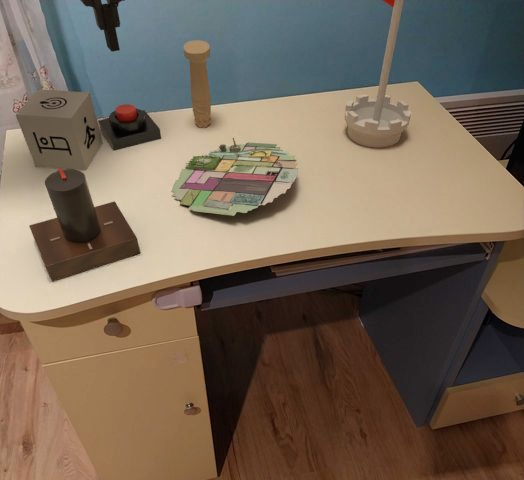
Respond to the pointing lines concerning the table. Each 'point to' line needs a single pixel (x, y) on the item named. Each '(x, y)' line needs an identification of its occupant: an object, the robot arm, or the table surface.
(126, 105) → the button
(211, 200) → the city model
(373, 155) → the table surface
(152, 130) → the button box
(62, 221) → the knob
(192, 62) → the handle
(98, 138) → the icon cube
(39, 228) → the panel
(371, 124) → the flag stand
